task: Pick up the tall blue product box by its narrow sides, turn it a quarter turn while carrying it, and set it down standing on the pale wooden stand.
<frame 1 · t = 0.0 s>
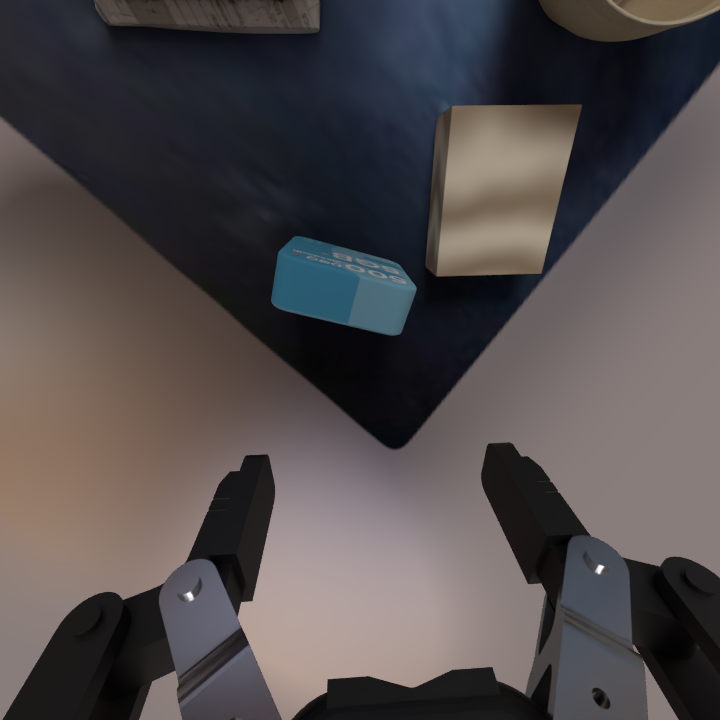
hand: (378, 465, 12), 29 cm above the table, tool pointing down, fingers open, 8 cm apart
blue product box: (343, 268, 37), on the table
stand: (481, 198, 34), on the table
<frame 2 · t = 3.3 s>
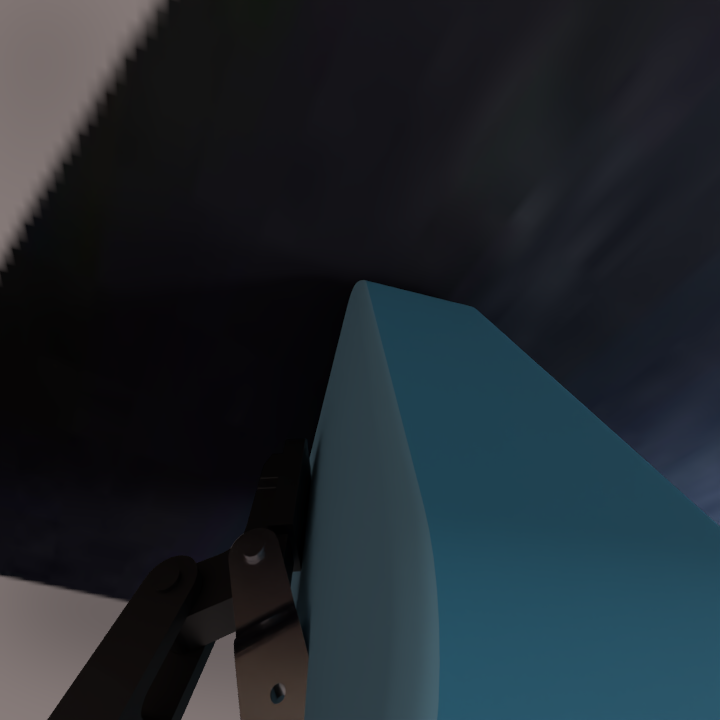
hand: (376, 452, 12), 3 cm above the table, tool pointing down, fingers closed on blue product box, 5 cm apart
blue product box: (370, 403, 15), on the table, touching gripper
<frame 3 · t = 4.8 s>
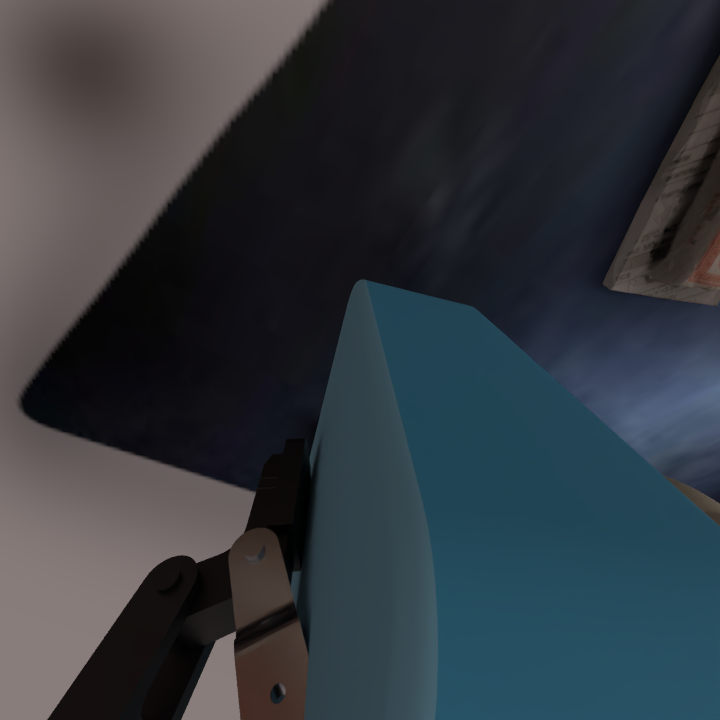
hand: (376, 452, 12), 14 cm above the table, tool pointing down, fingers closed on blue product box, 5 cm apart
blue product box: (370, 403, 15), point 11 cm above the table, touching gripper
planter bowl: (581, 484, 36), on the table
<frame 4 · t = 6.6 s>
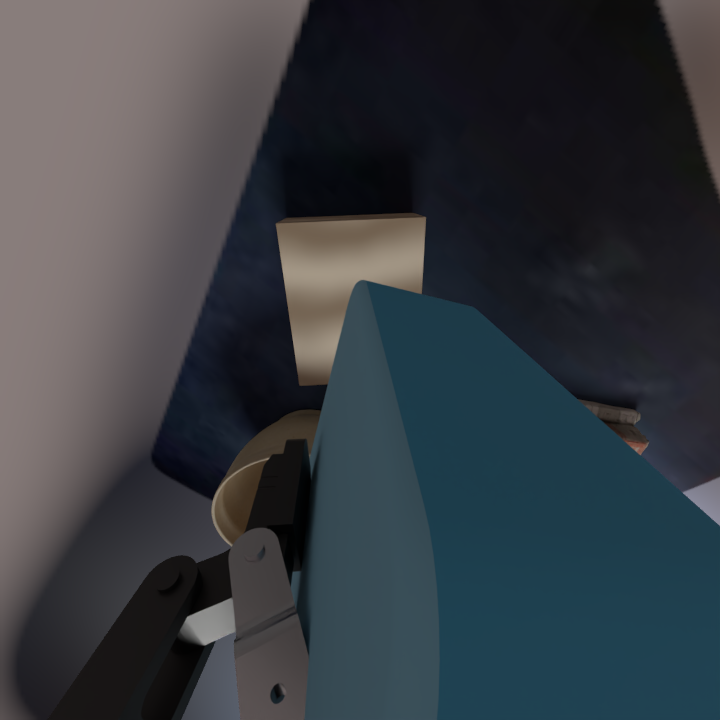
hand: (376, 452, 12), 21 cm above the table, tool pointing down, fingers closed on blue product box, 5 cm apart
blue product box: (371, 403, 15), point 18 cm above the table, touching gripper
packaged product: (550, 426, 41), on the table
stand: (353, 294, 31), on the table
planter bowl: (311, 438, 40), on the table
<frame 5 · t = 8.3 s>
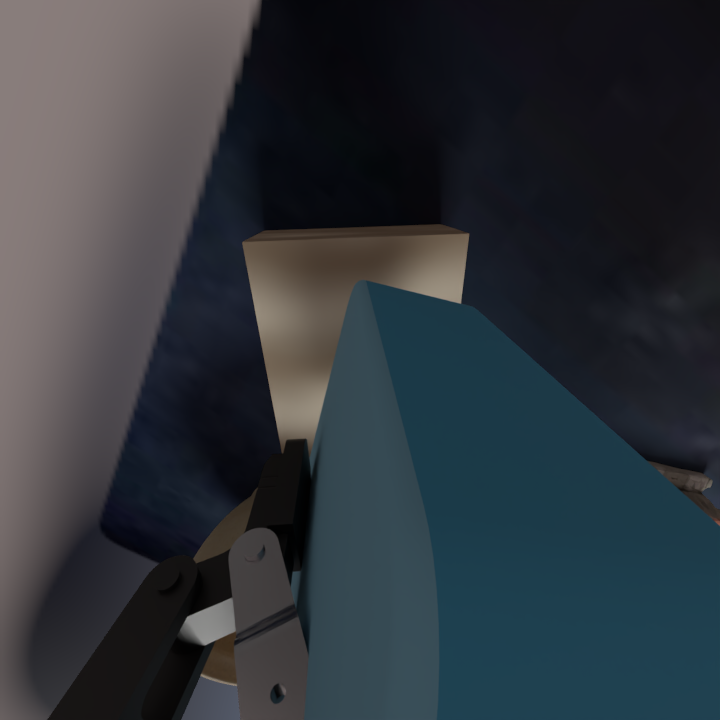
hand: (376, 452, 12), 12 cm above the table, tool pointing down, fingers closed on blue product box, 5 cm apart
blue product box: (371, 403, 15), point 9 cm above the table, touching gripper
packaged product: (597, 487, 33), on the table
stand: (357, 331, 23), on the table
planter bowl: (302, 503, 32), on the table
when the fingers open (9 cm above the table, at t = 9.8 s): blue product box drops 1 cm, resting on stand.
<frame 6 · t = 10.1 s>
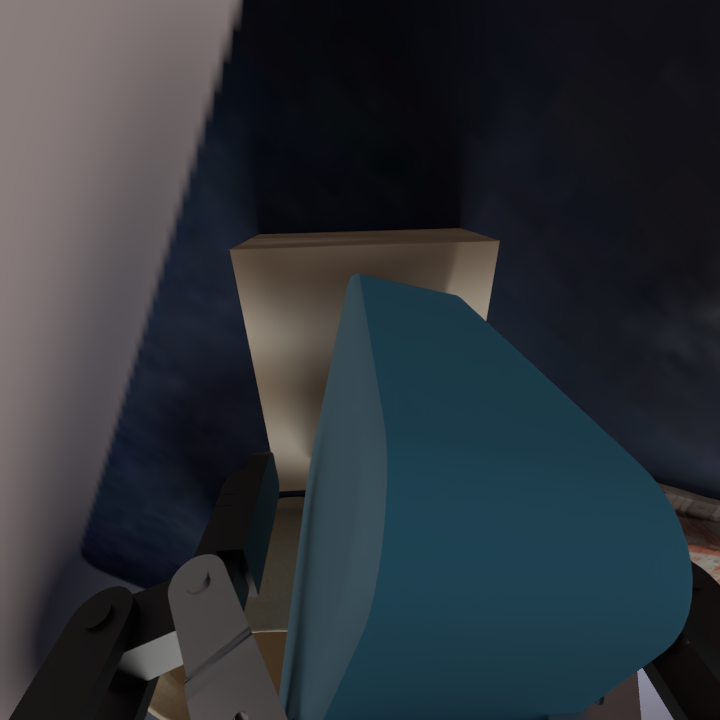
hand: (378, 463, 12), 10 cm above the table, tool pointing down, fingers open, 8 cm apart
blue product box: (369, 389, 17), point 5 cm above the table, touching stand
packaged product: (616, 512, 31), on the table
stand: (362, 347, 21), on the table
planter bowl: (300, 528, 29), on the table
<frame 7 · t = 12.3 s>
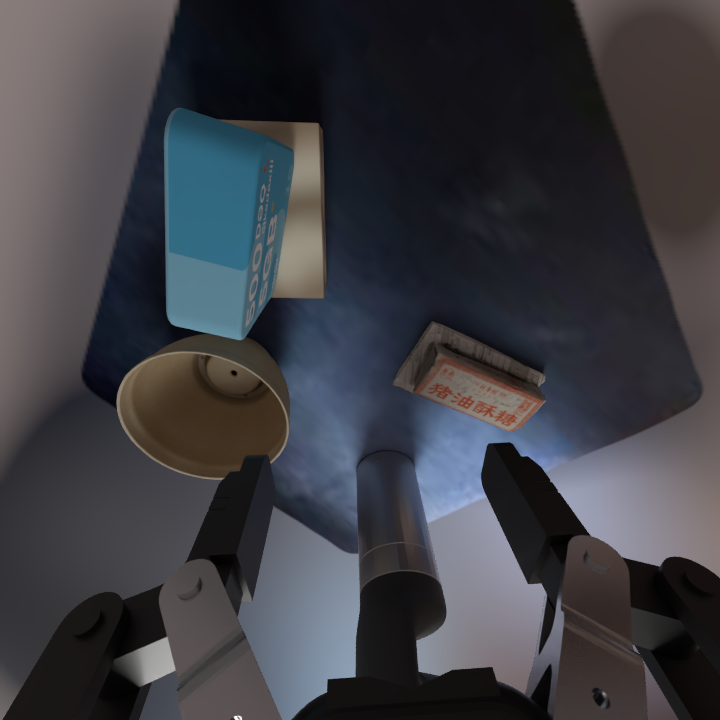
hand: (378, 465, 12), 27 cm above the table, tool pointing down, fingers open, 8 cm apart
blue product box: (259, 220, 28), point 5 cm above the table, touching stand
packaged product: (466, 374, 44), on the table
stand: (270, 214, 32), on the table
planter bowl: (238, 366, 41), on the table
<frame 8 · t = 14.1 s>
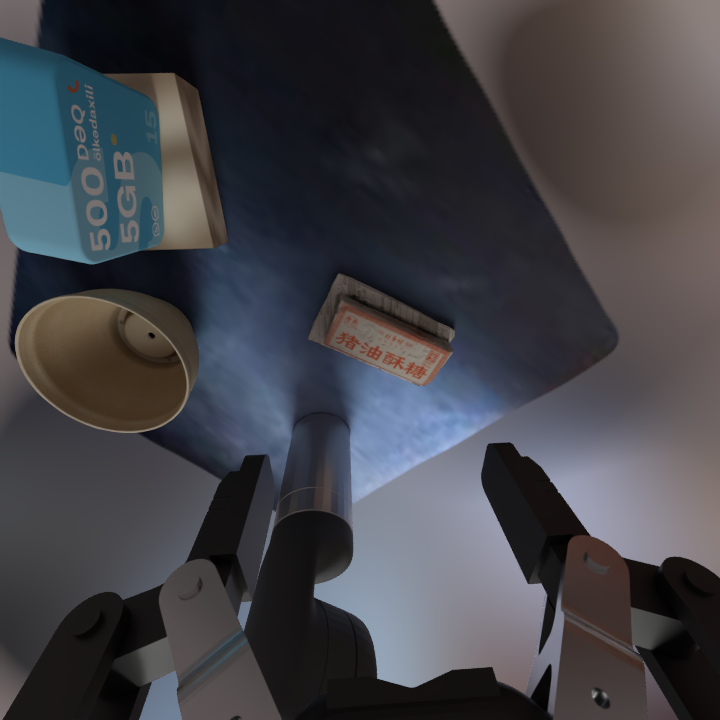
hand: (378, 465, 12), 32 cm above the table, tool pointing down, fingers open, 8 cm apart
blue product box: (138, 172, 30), point 5 cm above the table, touching stand
packaged product: (381, 330, 45), on the table
stand: (162, 173, 34), on the table
planter bowl: (159, 331, 43), on the table
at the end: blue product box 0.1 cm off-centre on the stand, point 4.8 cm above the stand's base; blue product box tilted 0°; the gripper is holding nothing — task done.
